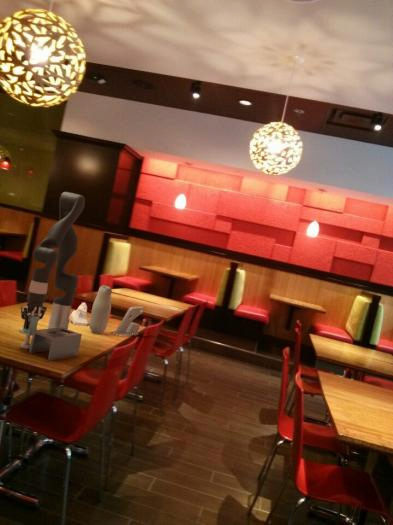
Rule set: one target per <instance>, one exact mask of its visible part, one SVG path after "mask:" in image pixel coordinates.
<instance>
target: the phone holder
mask: <svg viewBox="0 0 393 525" xmlns="http://www.w3.org/2000/svg"><path fill="white" fill-rule="evenodd" d="M144 311H145V308H144V306H141V305H140V306H130V307H129V308H128V309H127V311H126V313H125V315H124V316H123V318H122V320H121V322H120V324H119V325H118V327H116V328H117V329H116V330H114V331H113V330H112V331H111V334H113V333H115V334H114V335H116V334H119V335H122V336H121V337H124V336H128V337H131V335H134V336H138V335H139V331H140V326H141V325H140V324H139V323H137V322H133V321H134V320H135V319H136V318H137V317H139V316H140V315H141V314H143V313H144ZM132 333H133V334H132ZM119 335H118V336H119Z"/></svg>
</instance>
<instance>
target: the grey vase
mask: <svg viewBox="0 0 393 525" xmlns="http://www.w3.org/2000/svg"><path fill="white" fill-rule="evenodd" d="M111 310H112V288H111V287H110V286H109V285H105V284H103V285H100V287H99V289H98V291H97V295H96V297H95V299H94V302H93V303H92V309H91V314H90V318H89V323H88V326H89V329H90V331H91V332H92V333H94V334H102V333H104V332H106V330H107V327H108V325H109V324H108V323H109V321H110V320H109V319H110V314H111Z"/></svg>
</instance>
